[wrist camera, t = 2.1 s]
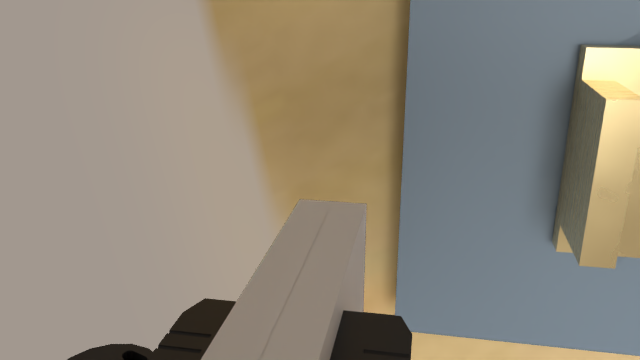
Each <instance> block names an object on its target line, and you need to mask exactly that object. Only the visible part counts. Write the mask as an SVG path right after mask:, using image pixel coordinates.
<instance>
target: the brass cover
mask: <svg viewBox="0 0 640 360" xmlns="http://www.w3.org/2000/svg"><path fill="white" fill-rule="evenodd" d="M552 243H553V245H554V247H555V250H556V252H568V253H573V254H574V256H575V258H576V260H577V262H578V264H579V266H588V267H600V268H612V269H615V267H616V262H617V256H619V257H632V258H640V46H632V45H584V44H581V46H580V52H579V59H578V66H577V73H576V80H575V87H574V94H573V101H572V108H571V115H570V122H569V129H568V136H567V142H566V149H565V156H564V163H563V170H562V177H561V184H560V191H559V198H558V205H557V212H556V219H555V226H554V232H553V239H552Z"/></svg>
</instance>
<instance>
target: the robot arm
mask: <svg viewBox="0 0 640 360" xmlns="http://www.w3.org/2000/svg"><path fill="white" fill-rule="evenodd" d="M366 205H367V204H363V203H348V202H333V201H319V200H304V199H300V200H299V201H298V203H297V204H296V206H295V208H294V209H293V211H292V213H291V214H290V216H289V217H288V219H287V221H286V222H285V224H284V226H283V227H282V229H281V230H280V232H279V234H278V235H277V237H276V238H275V240H274V242H273V243H272V245H271V247H270V248H269V250H268V252H267V253H266V255H265V256H264V258H263V260H262V261H261V263H260V264H259V266H258V268H257V269H256V271H255V273H254V274H253V276H252V277H251V279H250V281H249V282H248V284H247V286H246V287H245V289H244V290H243V292H242V294H241V295H240V297H239V298H238V300H237V302H235V301H225V300H215V299H204V300H202V301H201V302H199V303H197V304H196V305H194V306H192V307H191V308H189V309H188V310H186V311H184V312H183V313H182V314H181V316H180V317H179V318H178V320H177V321H176V322H175V324H174V325H173V326H172V328H171V329H170V333H169V334H168V333H167V334H166V335H165V337H164V339H162V341H161V342H160V344H159V346H158V349H157V348H156V349H155V350H154V351H153V352H152V351H151V350H150V349H148V348H145V347H140V346H137V345H133V344H110V345H105V346H101V347H96V348H92V349H89V350H86V351H84V352H82V353H79V354H77V355H75V356H73V357H71V358H69V359H68V360H411V344H412V333H411V332H410V330H409V328H408V327H407V325H406V323H405V322H404V320H403V318H402V317H401V316H396V315H386V314H376V313H366V312H363V306H364V273H365V239H366Z"/></svg>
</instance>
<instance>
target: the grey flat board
mask: <svg viewBox="0 0 640 360" xmlns="http://www.w3.org/2000/svg"><path fill="white" fill-rule="evenodd" d="M581 44H584V45H632V46H640V0H410V19H409V40H408V60H407V81H406V101H405V122H404V142H403V163H402V183H401V204H400V224H399V245H398V265H397V286H396V306H395V315H396V316H401V317H402V318H403V320H404V322H405V323H406V325H407V327H408V328H409V330H410V332H418V333H428V334H437V335H447V336H456V337H465V338H475V339H484V340H494V341H503V342H513V343H522V344H531V345H541V346H550V347H560V348H569V349H579V350H588V351H597V352H607V353H616V354H626V355H635V356H640V258H632V257H619V256H617V262H616V267H615V269H612V268H600V267H588V266H579V264H578V262H577V260H576V258H575V256H574V254H573V253H568V252H556V250H555V247H554V245H553V243H552V239H553V232H554V226H555V219H556V212H557V205H558V198H559V191H560V184H561V177H562V170H563V163H564V156H565V149H566V142H567V136H568V129H569V122H570V115H571V108H572V101H573V94H574V87H575V80H576V73H577V66H578V59H579V52H580V46H581Z"/></svg>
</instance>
